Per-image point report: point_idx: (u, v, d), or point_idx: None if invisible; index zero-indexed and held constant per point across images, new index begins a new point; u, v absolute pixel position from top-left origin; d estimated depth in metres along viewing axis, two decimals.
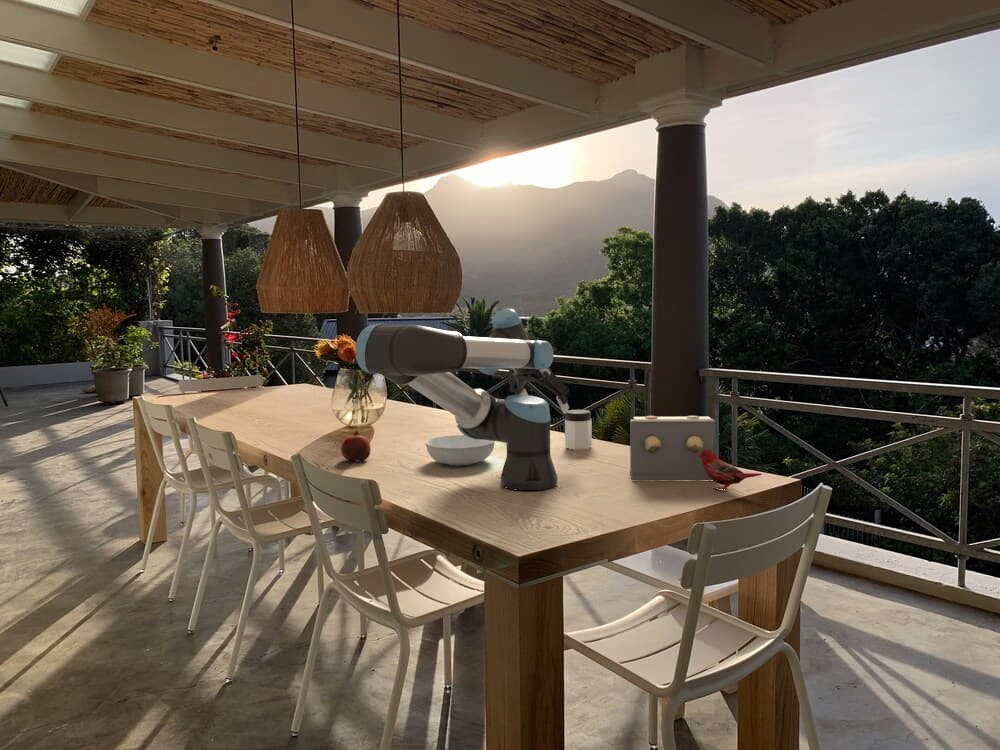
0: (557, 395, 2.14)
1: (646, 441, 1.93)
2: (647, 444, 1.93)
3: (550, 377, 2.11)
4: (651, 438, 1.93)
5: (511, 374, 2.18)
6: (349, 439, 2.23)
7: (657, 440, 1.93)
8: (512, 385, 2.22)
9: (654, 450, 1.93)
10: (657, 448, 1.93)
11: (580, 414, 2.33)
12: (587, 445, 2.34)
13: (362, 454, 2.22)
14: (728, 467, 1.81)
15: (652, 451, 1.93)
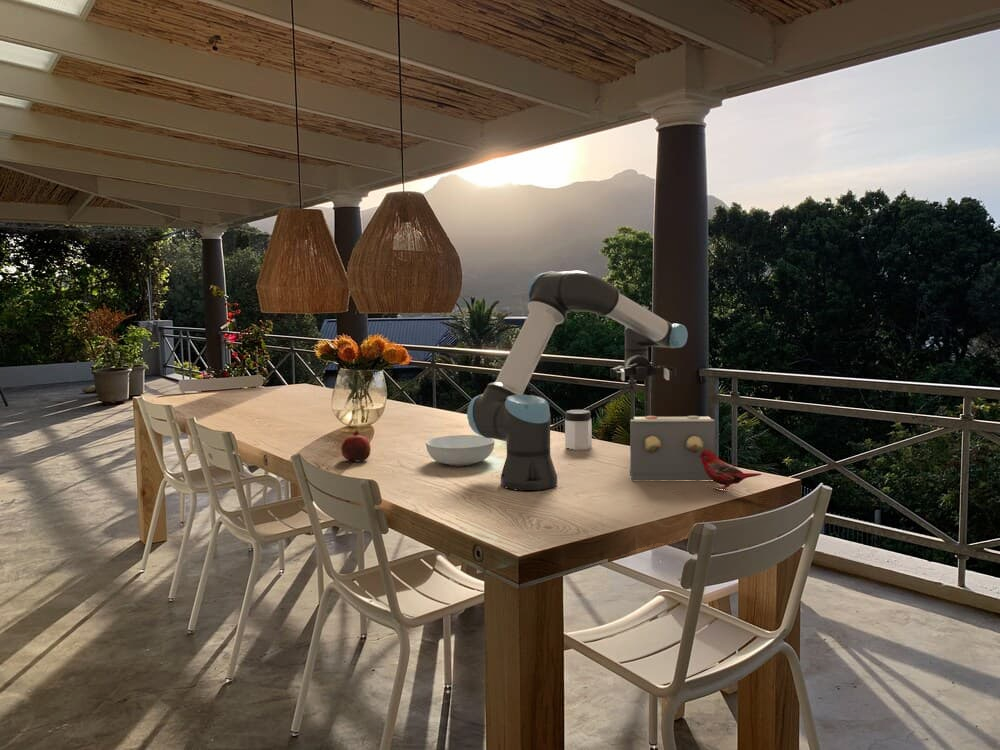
0: (666, 368, 2.16)
1: (646, 441, 1.93)
2: (647, 444, 1.93)
3: None
4: (651, 438, 1.93)
5: (620, 366, 2.25)
6: (349, 439, 2.23)
7: (657, 440, 1.93)
8: (616, 368, 2.20)
9: (654, 450, 1.93)
10: (657, 448, 1.93)
11: (580, 414, 2.33)
12: (587, 445, 2.34)
13: (362, 454, 2.22)
14: (728, 467, 1.81)
15: (652, 451, 1.93)
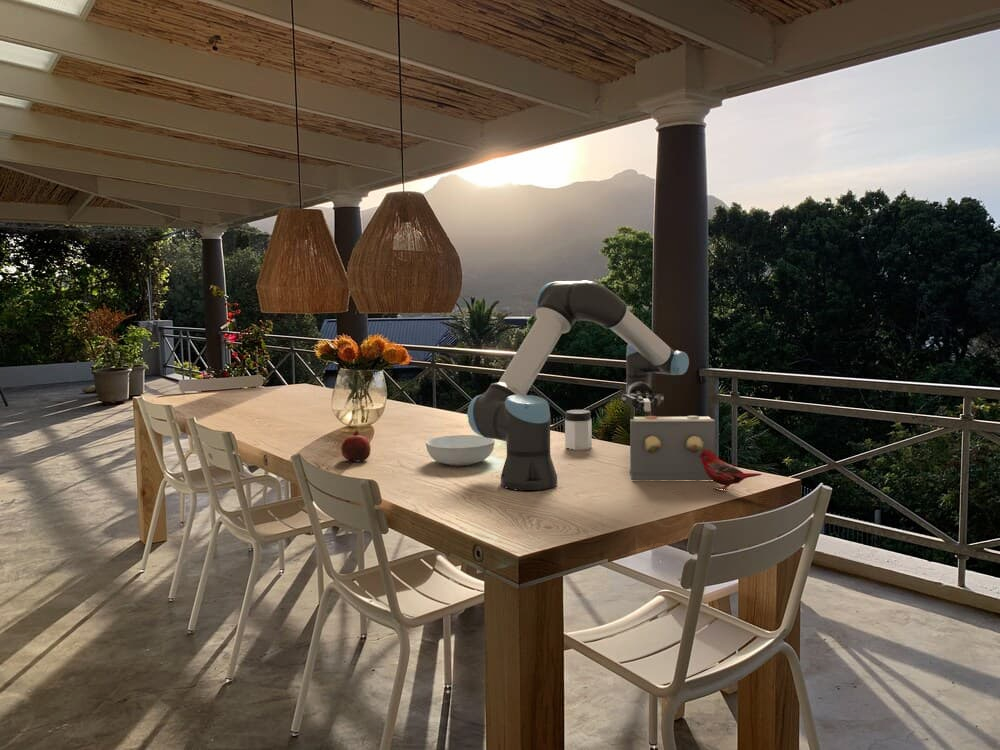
0: None
1: (646, 441, 1.93)
2: (647, 444, 1.93)
3: (660, 396, 2.22)
4: (651, 438, 1.93)
5: (626, 394, 2.24)
6: (349, 439, 2.23)
7: (657, 440, 1.93)
8: (632, 397, 2.19)
9: (654, 450, 1.93)
10: (657, 448, 1.93)
11: (580, 414, 2.33)
12: (587, 445, 2.34)
13: (362, 454, 2.22)
14: (728, 467, 1.81)
15: (652, 451, 1.93)
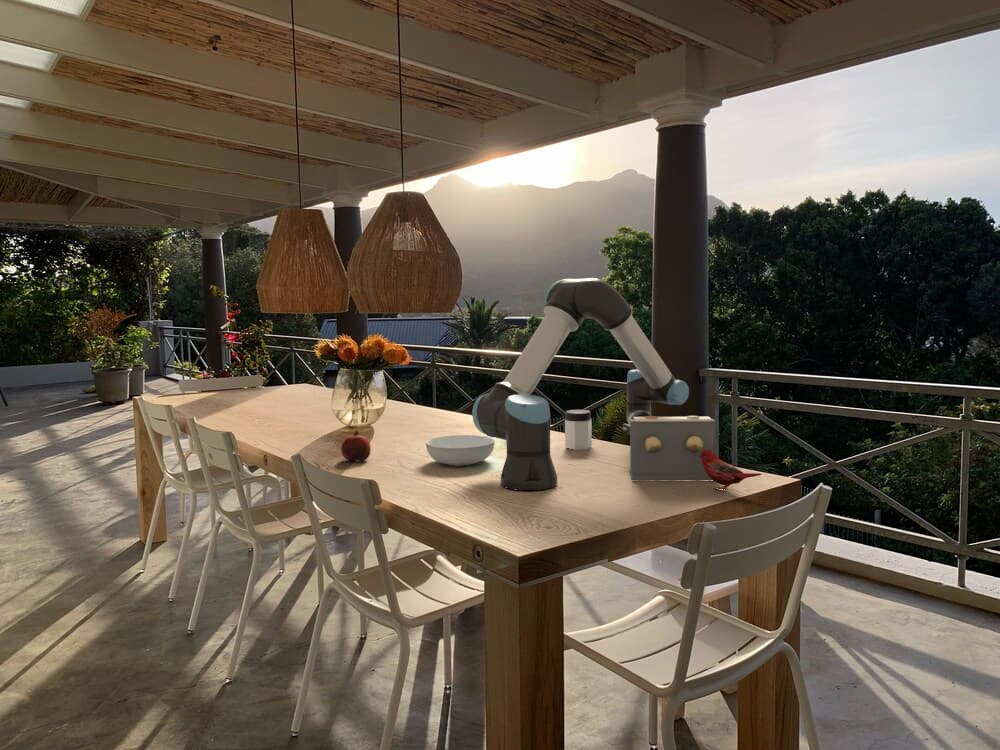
0: None
1: (646, 442, 1.92)
2: (647, 445, 1.92)
3: None
4: (651, 439, 1.92)
5: (626, 424, 2.16)
6: (349, 439, 2.23)
7: (657, 441, 1.92)
8: None
9: (654, 451, 1.92)
10: (657, 449, 1.92)
11: (580, 414, 2.33)
12: (587, 445, 2.34)
13: (362, 454, 2.22)
14: (728, 467, 1.81)
15: (652, 452, 1.92)
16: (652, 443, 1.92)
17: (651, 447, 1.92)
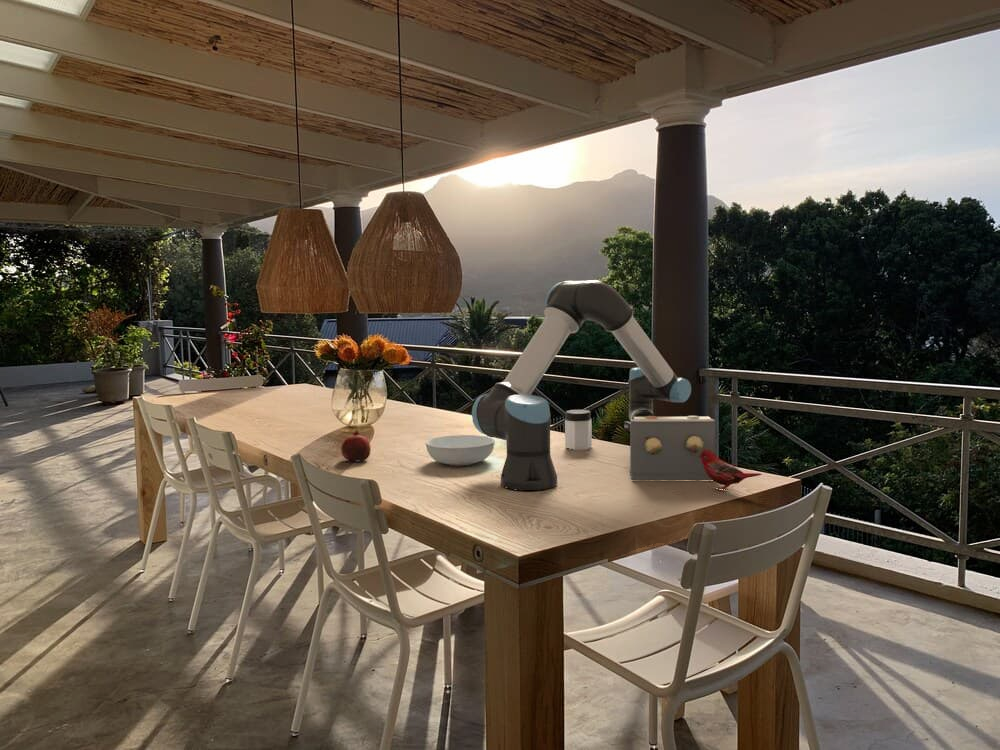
0: None
1: (647, 443, 1.91)
2: (648, 446, 1.91)
3: None
4: (652, 440, 1.90)
5: (628, 422, 2.18)
6: (349, 439, 2.23)
7: (658, 442, 1.90)
8: None
9: (655, 452, 1.91)
10: (658, 450, 1.91)
11: (580, 414, 2.33)
12: (587, 445, 2.34)
13: (362, 454, 2.22)
14: (728, 467, 1.81)
15: (653, 453, 1.91)
16: (653, 444, 1.91)
17: (652, 448, 1.91)
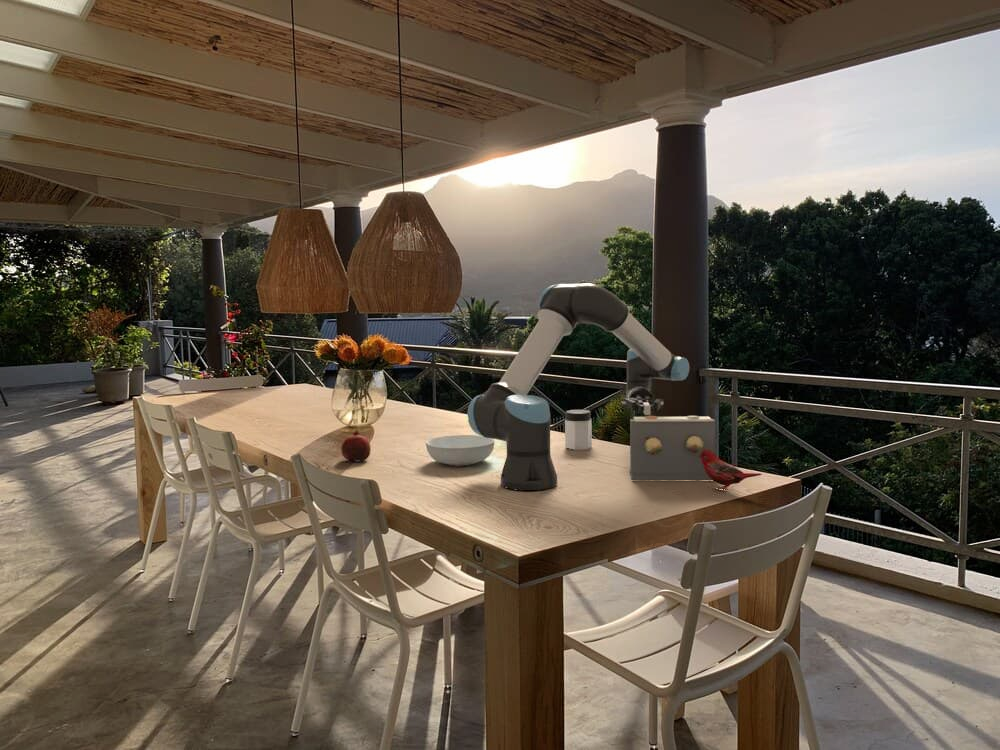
0: (648, 402, 2.16)
1: (647, 443, 1.91)
2: (648, 446, 1.91)
3: (660, 401, 2.22)
4: (652, 440, 1.90)
5: None
6: (349, 439, 2.23)
7: (658, 442, 1.90)
8: (632, 401, 2.20)
9: (655, 452, 1.91)
10: (658, 450, 1.91)
11: (580, 414, 2.33)
12: (587, 445, 2.34)
13: (362, 454, 2.22)
14: (728, 467, 1.81)
15: (653, 453, 1.91)
16: (653, 444, 1.91)
17: (652, 448, 1.91)
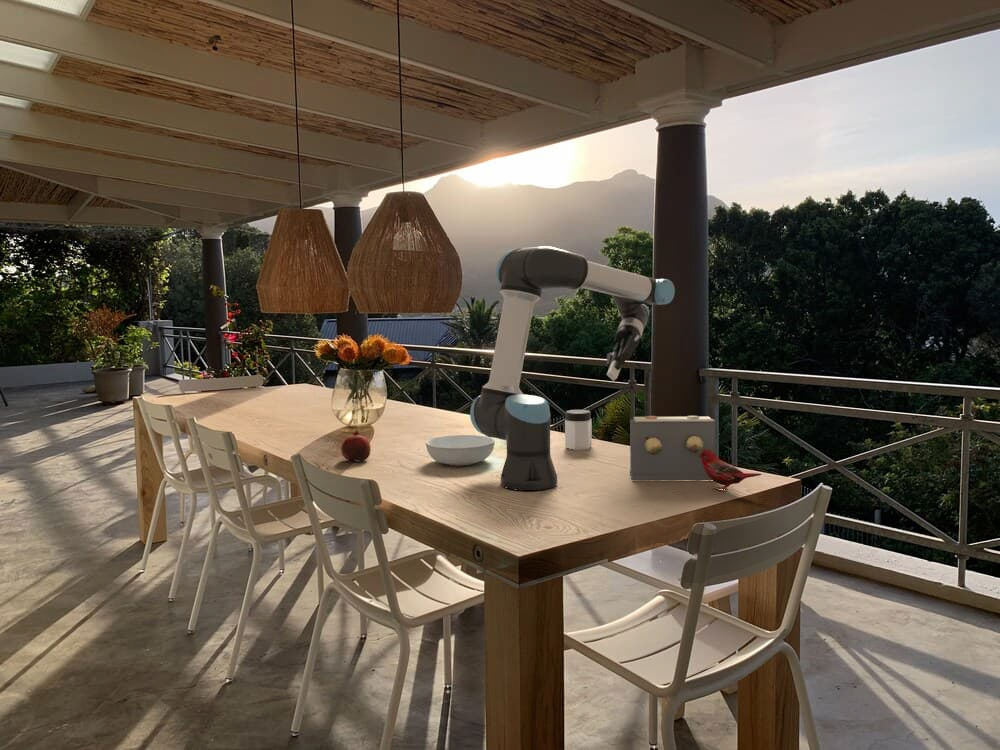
0: None
1: (647, 443, 1.91)
2: (648, 446, 1.91)
3: (633, 339, 2.13)
4: (652, 440, 1.90)
5: (608, 355, 2.21)
6: (349, 439, 2.23)
7: (658, 442, 1.90)
8: (608, 360, 2.16)
9: (655, 452, 1.91)
10: (658, 450, 1.91)
11: (580, 414, 2.33)
12: (587, 445, 2.34)
13: (362, 454, 2.22)
14: (728, 467, 1.81)
15: (653, 453, 1.91)
16: (653, 444, 1.91)
17: (652, 448, 1.91)
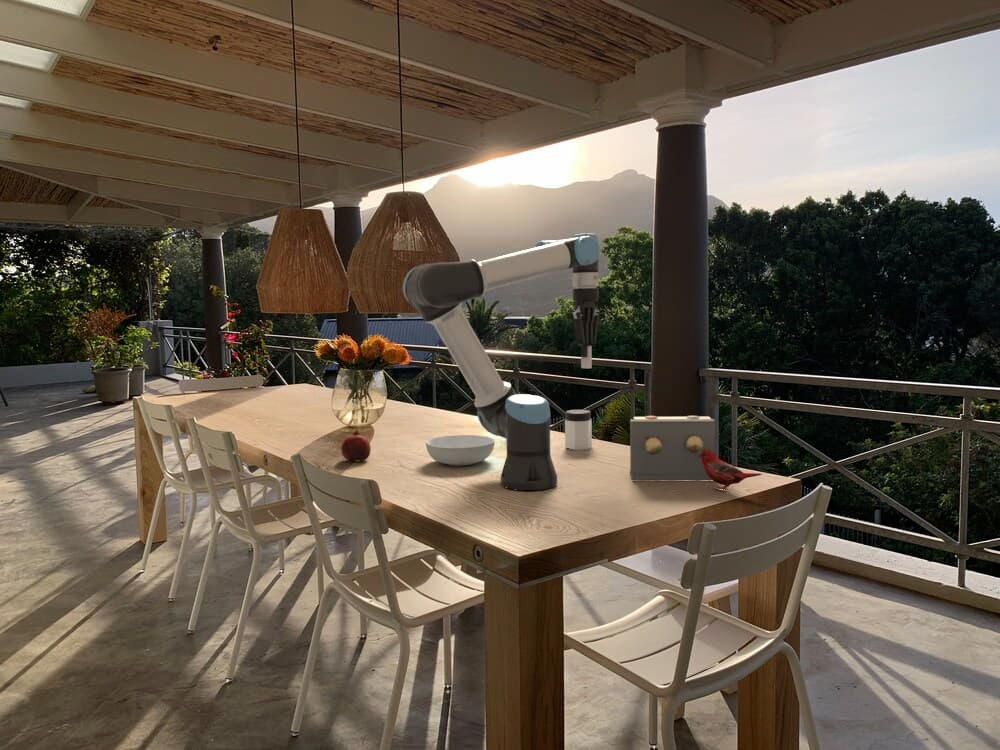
0: None
1: (647, 443, 1.91)
2: (648, 446, 1.91)
3: (574, 321, 2.09)
4: (652, 440, 1.90)
5: None
6: (349, 439, 2.23)
7: (658, 442, 1.90)
8: None
9: (655, 452, 1.91)
10: (658, 450, 1.91)
11: (580, 414, 2.33)
12: (587, 445, 2.34)
13: (362, 454, 2.22)
14: (728, 467, 1.81)
15: (653, 453, 1.91)
16: (653, 444, 1.91)
17: (652, 448, 1.91)
